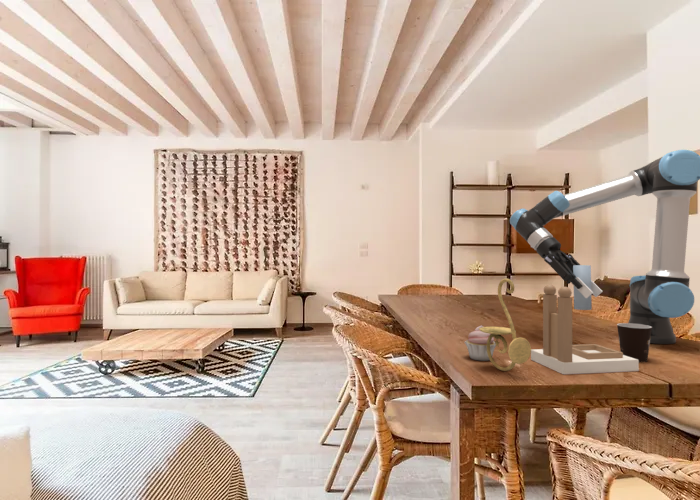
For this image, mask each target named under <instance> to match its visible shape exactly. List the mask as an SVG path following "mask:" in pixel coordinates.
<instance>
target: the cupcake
mask: <svg viewBox="0 0 700 500" xmlns="http://www.w3.org/2000/svg"><path fill="white" fill-rule="evenodd" d="M482 327H484V326H483V325H479V326H477V327H476V328H475V329H474V330H473V331H470V332H469V333H468V339H466V341H464V344H465V347H466V348H467V350H468V351H467V352H468V355H469V357H470V359H471V360H474V361H480V362H481V361H482V362H486V361H490V359H489V357H488V354H487V340H488V337H489V335H490V334H488V333H484V332H482V331H480V330H479V328H482ZM494 340H495V337H492V339H491V343H490V351H491V355H492V357H493V356H494V355H493V354H494V351H495V348H496V347H497V346H495V344H496V343H495V341H494Z"/></svg>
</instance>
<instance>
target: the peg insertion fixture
mask: <svg viewBox="0 0 700 500" xmlns="http://www.w3.org/2000/svg"><path fill="white" fill-rule="evenodd" d="M556 293H557V294H558V295H557V294H556ZM572 294H573V292H572V290H571V288H569V287H568V286H561V287H560V288H559V289H558V290H557V289H556V287H555V285H553V284H546V285H544V288H543V294H542V319H543V320H542V348H539V349H538V348H537V349H532V348H531V354H530V360H531V361H532V362H535V363H537V364H539V365H542V366H544V367H546V368H549V369H550V370H553V371H556V372H557V373H559V374H562V375H578V374H579V375H581V374H584V375H585V374H603V373H621V372H625V373H626V372H627V373H628V372H639V371H640V369H639V368H640V367H639V364H640V362H639V360H638V359H634V358H631V357H628V356H625V355H623V352H621V351H619V350H615V349H613V348H610V347H606V346H603V345H599V344H597V343H593V344H592V343H588V344H586V343H585V344H573V297H572Z"/></svg>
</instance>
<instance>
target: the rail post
mask: <svg viewBox="0 0 700 500" xmlns="http://www.w3.org/2000/svg"><path fill="white" fill-rule="evenodd" d="M573 274H574V275H575V276H576V278H577V277H579V278H580V279H581V280H582V281H583V282H584V283H585V284H586V285H587V286H588V288H589V289H590V290H591V280H592V266H591V265H589V264H586V265H585V264H584V265H583V264H580V265H573ZM592 300H593V299H592V294H591V295H590V296H589V297H588V298H585V297H584V296H583V295H582V294H581V293H580V292H579V291H578V289H577V288H576V287H575V286H574V285H573V309H574V310H578V311H592V310H593V309H592V308H593V307H592V306H593V304H592Z"/></svg>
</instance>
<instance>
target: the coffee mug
mask: <svg viewBox="0 0 700 500" xmlns="http://www.w3.org/2000/svg"><path fill="white" fill-rule="evenodd" d="M616 327H617V334H618V342H619V350H620V351H619V352H623V355H625V356H628V357H631V358H634V359H638V360H639V363H646V362H648V360H649V359H648V358H649V351H650V344H651V343H650V338H651V330H652V327H651V326H648V325H642V324H632V323H628V322H624V323H623V322H622V323H621V322H620V323H617V324H616Z"/></svg>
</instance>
